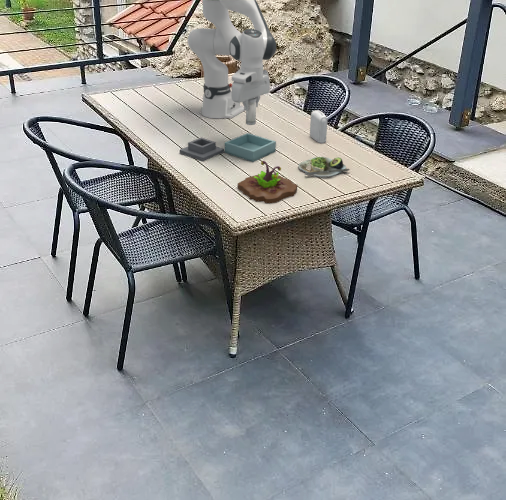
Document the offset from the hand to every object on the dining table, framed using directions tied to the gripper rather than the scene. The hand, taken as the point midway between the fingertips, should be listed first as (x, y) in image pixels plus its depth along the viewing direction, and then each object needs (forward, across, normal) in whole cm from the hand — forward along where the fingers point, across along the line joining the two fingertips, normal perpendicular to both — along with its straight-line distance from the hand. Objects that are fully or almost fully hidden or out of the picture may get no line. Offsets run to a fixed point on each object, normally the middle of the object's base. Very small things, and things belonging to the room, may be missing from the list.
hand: (250, 108), depth 261 cm
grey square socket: (+19, +13, -15) cm, 27 cm away
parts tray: (+19, 0, 0) cm, 19 cm away
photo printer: (+19, -32, +12) cm, 39 cm away
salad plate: (+19, -6, +32) cm, 38 cm away
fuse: (+6, 0, 0) cm, 6 cm away
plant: (+20, +24, +27) cm, 41 cm away
